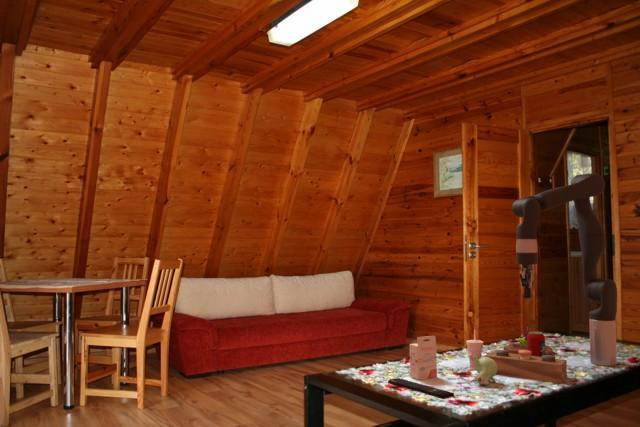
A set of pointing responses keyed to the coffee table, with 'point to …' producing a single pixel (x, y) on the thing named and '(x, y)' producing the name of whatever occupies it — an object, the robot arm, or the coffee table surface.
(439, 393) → the remote control
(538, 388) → the coffee table surface
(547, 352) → the plant
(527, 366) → the oak block
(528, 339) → the beverage can
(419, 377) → the ink cartridge box
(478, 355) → the smoothie
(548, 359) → the plunger
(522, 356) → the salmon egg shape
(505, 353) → the plunger
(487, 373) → the frog
